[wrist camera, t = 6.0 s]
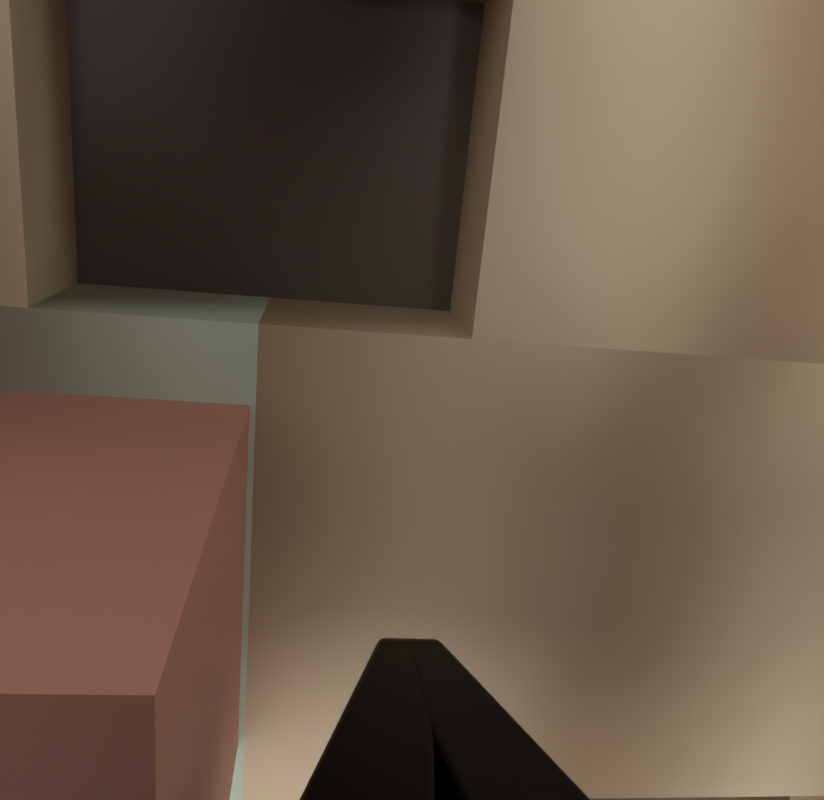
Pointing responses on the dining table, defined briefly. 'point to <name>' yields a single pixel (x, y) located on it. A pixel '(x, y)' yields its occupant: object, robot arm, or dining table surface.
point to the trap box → (464, 346)
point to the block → (120, 596)
